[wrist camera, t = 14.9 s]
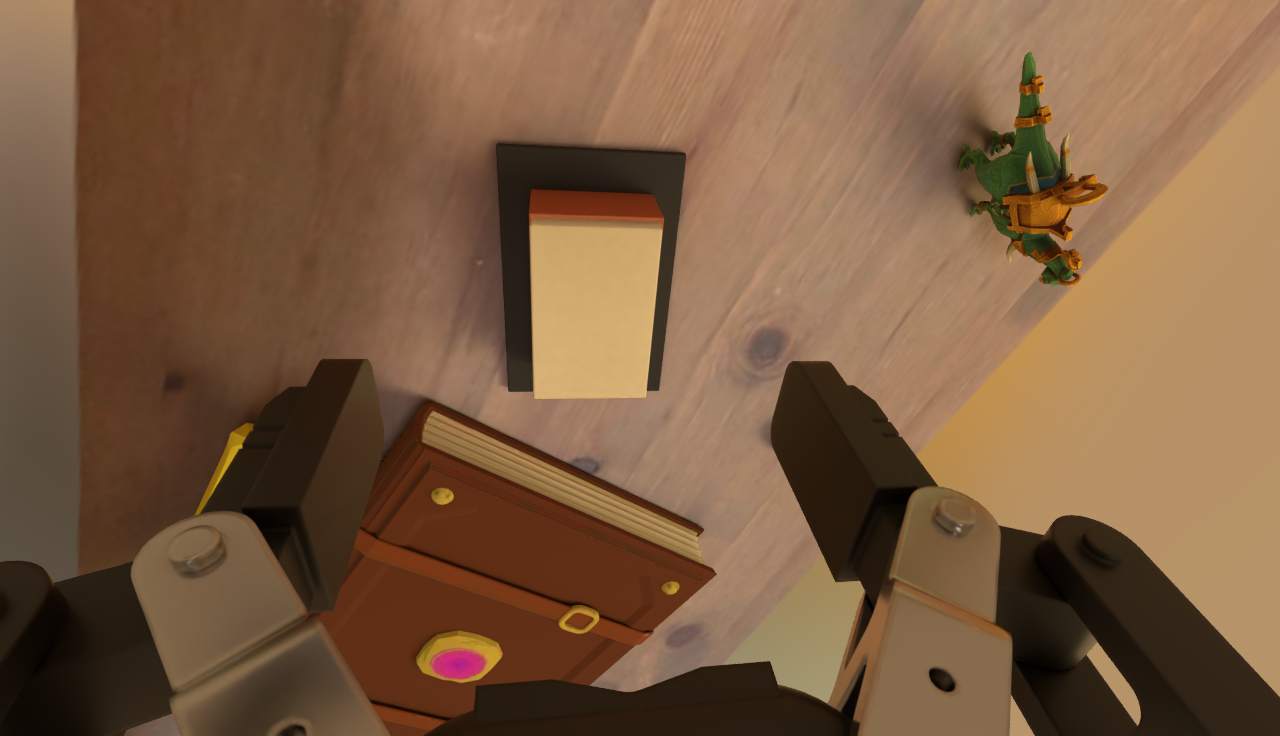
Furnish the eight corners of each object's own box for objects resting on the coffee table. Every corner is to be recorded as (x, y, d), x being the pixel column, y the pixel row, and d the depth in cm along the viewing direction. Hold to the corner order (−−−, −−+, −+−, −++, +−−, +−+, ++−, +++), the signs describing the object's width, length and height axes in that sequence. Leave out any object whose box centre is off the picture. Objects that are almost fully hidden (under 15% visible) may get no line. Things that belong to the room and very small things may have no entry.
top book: (531, 188, 29) (528, 213, 26) (653, 193, 30) (664, 217, 27) (535, 363, 35) (533, 399, 32) (638, 363, 35) (646, 398, 33)
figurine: (969, 262, 35) (1069, 332, 28) (930, 57, 28) (1047, 85, 22) (1022, 237, 34) (1137, 302, 28) (993, 23, 28) (1134, 40, 21)
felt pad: (496, 143, 28) (496, 145, 28) (684, 152, 29) (686, 155, 29) (508, 388, 36) (508, 391, 35) (658, 387, 37) (659, 390, 37)
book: (705, 527, 45) (721, 584, 41) (487, 729, 56) (482, 790, 52) (418, 392, 35) (401, 448, 31) (227, 669, 47) (196, 737, 43)
